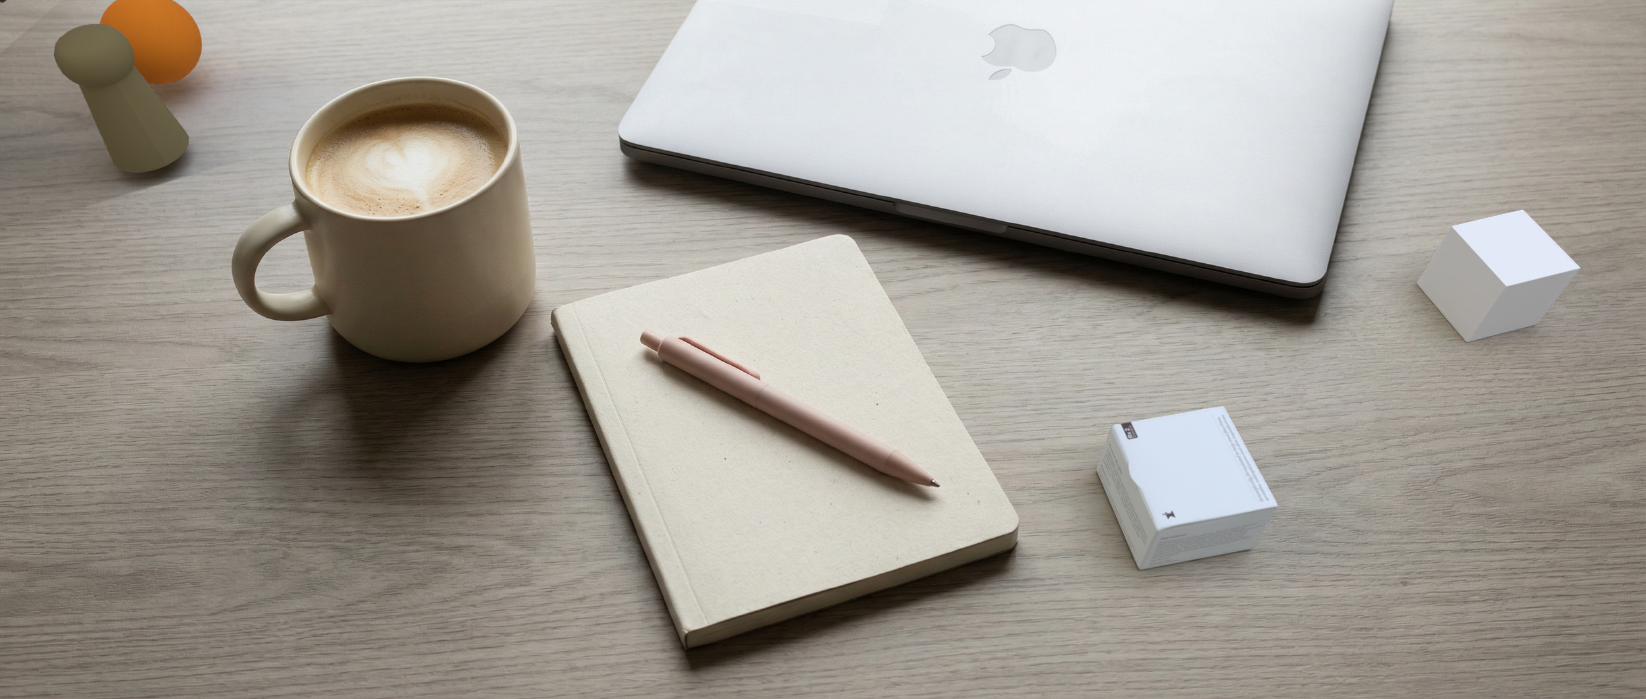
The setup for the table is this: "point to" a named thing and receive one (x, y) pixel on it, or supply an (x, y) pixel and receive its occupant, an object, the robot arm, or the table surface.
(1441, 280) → the white cube
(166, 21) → the orange
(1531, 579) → the table surface
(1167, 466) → the small box
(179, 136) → the olive pawn
